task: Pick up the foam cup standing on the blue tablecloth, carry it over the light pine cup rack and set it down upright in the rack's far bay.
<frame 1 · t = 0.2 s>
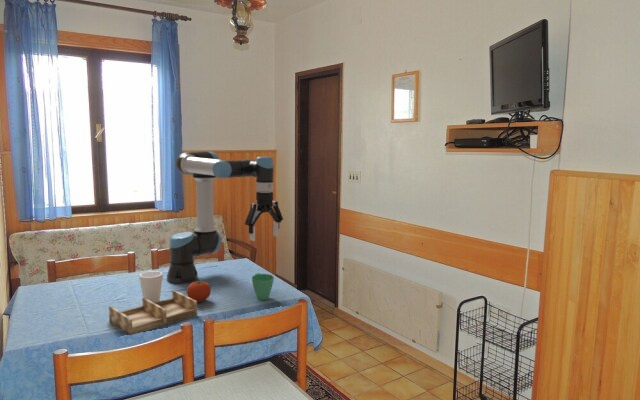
hand: (264, 238, 205), 28 cm above the table, fingers open, 13 cm apart
tomato: (198, 301, 203), on the table
rack: (154, 317, 183), on the table
foam cup: (151, 303, 199), on the table
mug: (261, 296, 210), on the table
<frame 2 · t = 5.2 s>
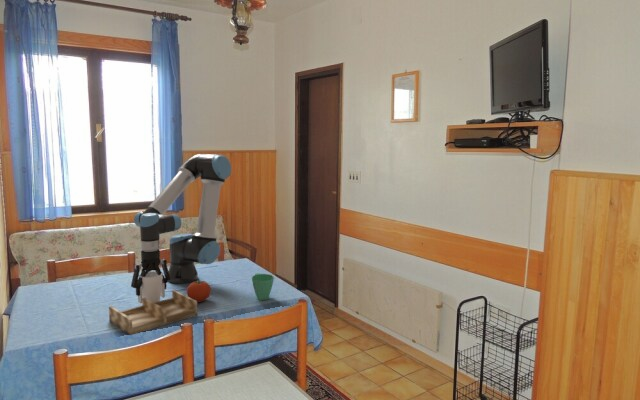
hand: (151, 299, 199), 2 cm above the table, fingers closed on foam cup, 9 cm apart
foam cup: (151, 303, 199), on the table, touching gripper
everything else where it was.
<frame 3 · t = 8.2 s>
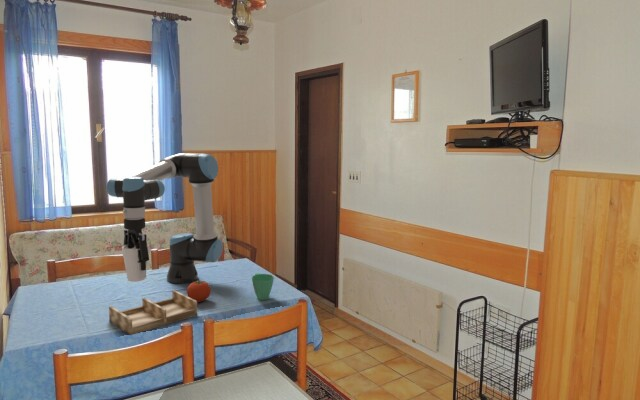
hand: (136, 275, 176), 19 cm above the table, fingers closed on foam cup, 9 cm apart
foam cup: (136, 279, 176), point 17 cm above the table, touching gripper
everything else where it was.
when the fingers open (5 cm above the table, at t = 11.6 s): foam cup drops 2 cm, resting on rack.
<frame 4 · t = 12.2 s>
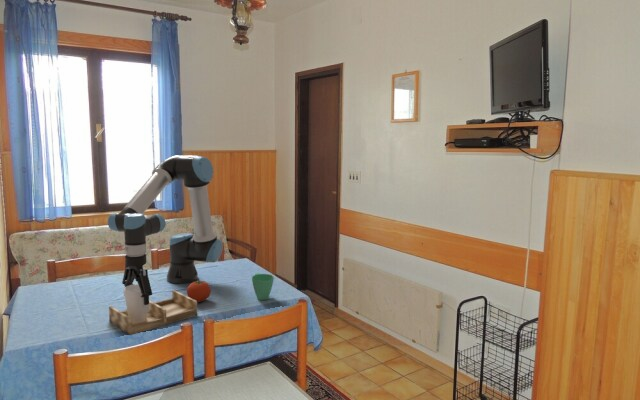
hand: (137, 307, 177), 6 cm above the table, fingers open, 13 cm apart
foam cup: (137, 320, 178), point 1 cm above the table, touching rack
everything else where it was.
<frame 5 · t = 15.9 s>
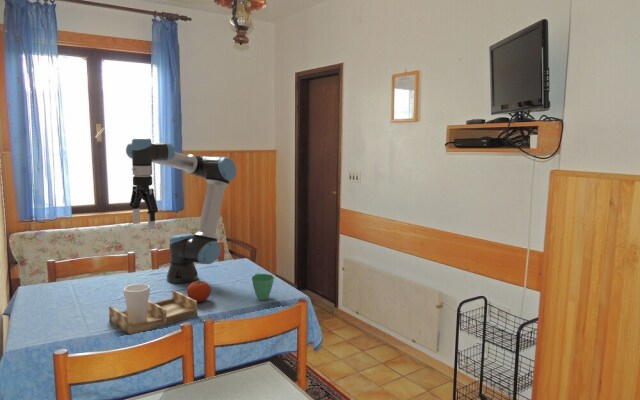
hand: (144, 226, 191), 35 cm above the table, fingers open, 13 cm apart
nothing on the table moved.
at the end: foam cup inside the target area on the rack (0.0 cm from its centre), point 1.0 cm above the rack's base; foam cup tilted 0°; the gripper is holding nothing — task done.
